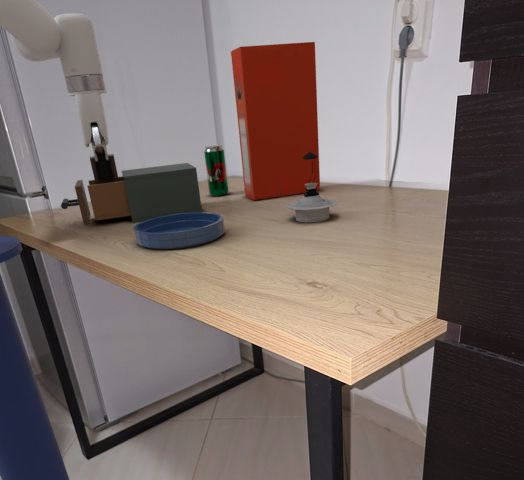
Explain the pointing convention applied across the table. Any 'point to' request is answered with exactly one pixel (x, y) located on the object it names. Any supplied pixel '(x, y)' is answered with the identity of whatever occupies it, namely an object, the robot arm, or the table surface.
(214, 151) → the soda can
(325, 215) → the oil lamp
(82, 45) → the robot arm
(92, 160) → the block
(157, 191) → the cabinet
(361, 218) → the table surface
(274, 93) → the file binder
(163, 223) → the bowl
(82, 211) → the drawer
